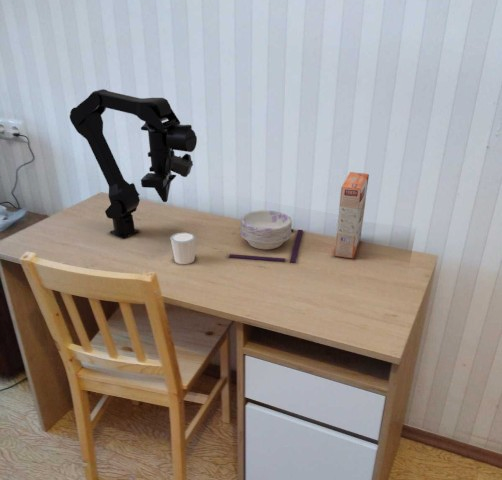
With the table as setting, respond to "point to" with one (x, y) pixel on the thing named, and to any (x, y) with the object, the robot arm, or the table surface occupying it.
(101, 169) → the robot arm
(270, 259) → the frame
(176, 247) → the shot glass
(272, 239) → the paper bowls
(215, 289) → the table surface
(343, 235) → the cracker box
